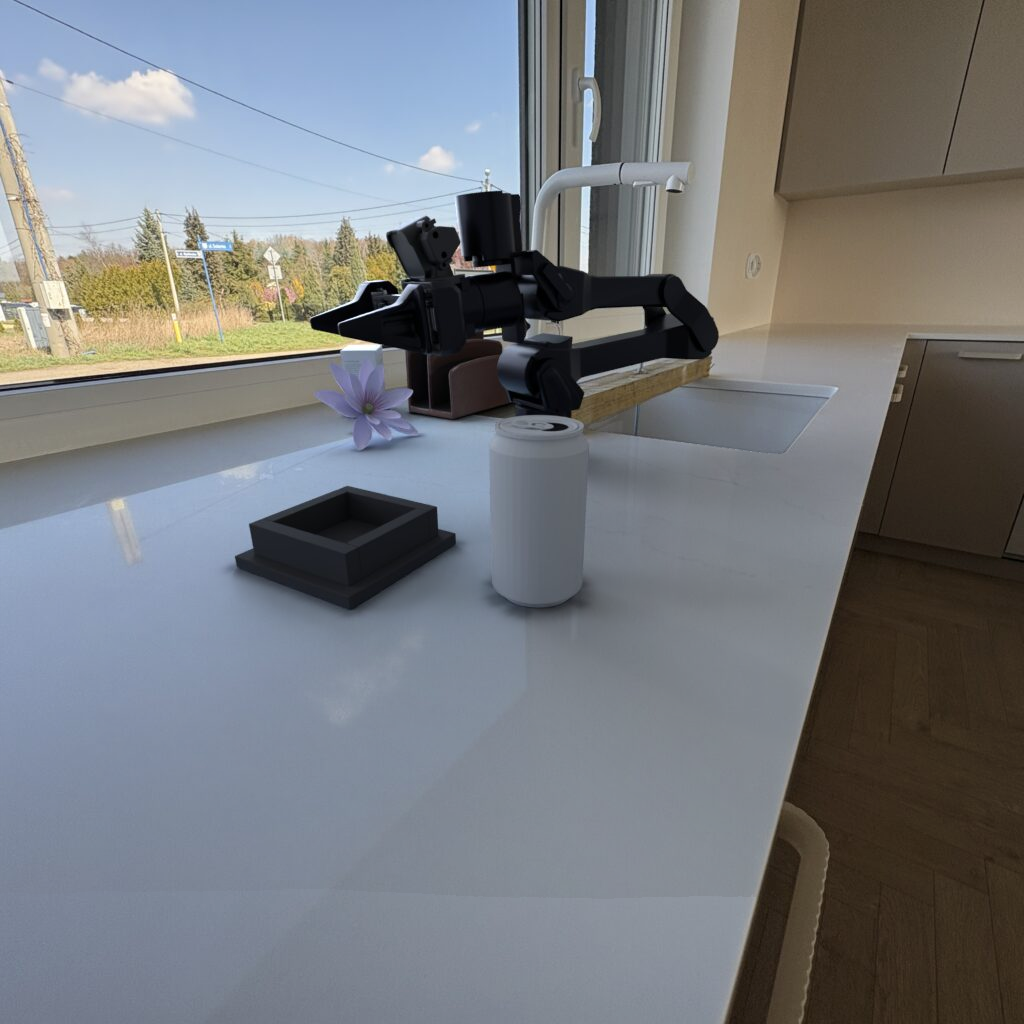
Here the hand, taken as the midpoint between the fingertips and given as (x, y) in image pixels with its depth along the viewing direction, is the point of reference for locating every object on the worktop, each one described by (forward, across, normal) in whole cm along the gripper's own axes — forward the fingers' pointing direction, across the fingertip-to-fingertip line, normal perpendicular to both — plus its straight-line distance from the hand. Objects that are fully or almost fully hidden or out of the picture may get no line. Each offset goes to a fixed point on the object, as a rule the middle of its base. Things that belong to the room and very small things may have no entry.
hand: (323, 326), depth 53 cm
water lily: (-8, -18, +18) cm, 27 cm away
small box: (-14, -37, +18) cm, 43 cm away
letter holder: (-30, -31, +20) cm, 48 cm away
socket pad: (+6, +15, +16) cm, 22 cm away
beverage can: (-4, +27, +17) cm, 32 cm away
